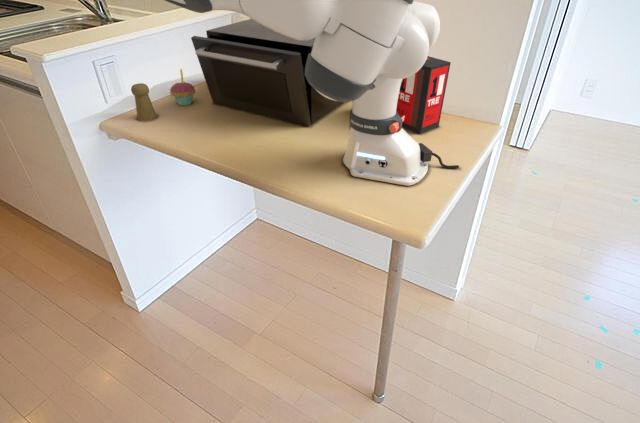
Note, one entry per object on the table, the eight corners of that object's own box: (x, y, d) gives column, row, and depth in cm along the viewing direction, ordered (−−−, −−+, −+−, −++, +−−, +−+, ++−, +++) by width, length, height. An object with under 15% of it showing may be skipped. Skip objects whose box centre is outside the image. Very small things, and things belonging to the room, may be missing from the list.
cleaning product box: (438, 126, 128) (450, 62, 116) (420, 134, 123) (431, 67, 112) (399, 111, 138) (407, 50, 127) (381, 117, 134) (387, 55, 122)
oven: (311, 125, 129) (310, 46, 115) (216, 102, 145) (206, 30, 131) (351, 98, 148) (354, 28, 134) (263, 80, 165) (258, 16, 151)
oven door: (301, 135, 125) (289, 62, 108) (205, 110, 141) (181, 43, 124) (311, 124, 128) (300, 52, 111) (216, 101, 144) (194, 35, 127)
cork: (150, 121, 130) (142, 88, 124) (133, 120, 131) (124, 86, 125) (160, 114, 135) (152, 82, 129) (144, 113, 136) (135, 80, 130)
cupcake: (178, 98, 148) (171, 64, 141) (200, 99, 147) (195, 65, 140) (169, 107, 141) (161, 72, 134) (192, 107, 140) (186, 73, 133)
